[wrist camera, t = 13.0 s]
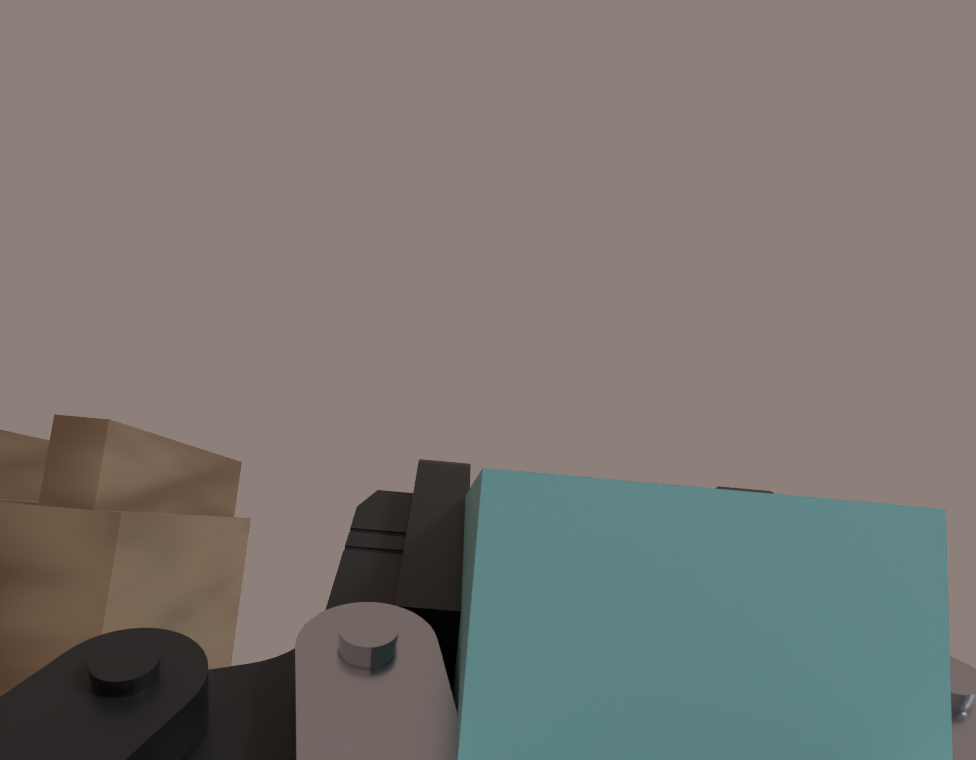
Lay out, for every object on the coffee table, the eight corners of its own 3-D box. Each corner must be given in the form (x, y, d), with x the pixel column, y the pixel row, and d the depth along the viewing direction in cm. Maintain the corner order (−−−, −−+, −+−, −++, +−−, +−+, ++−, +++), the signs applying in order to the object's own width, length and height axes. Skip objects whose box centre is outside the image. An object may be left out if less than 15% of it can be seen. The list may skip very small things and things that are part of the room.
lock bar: (530, 626, 31) (536, 533, 32) (960, 1037, 5) (945, 508, 6) (438, 619, 31) (447, 525, 31) (437, 1005, 5) (482, 467, 6)
